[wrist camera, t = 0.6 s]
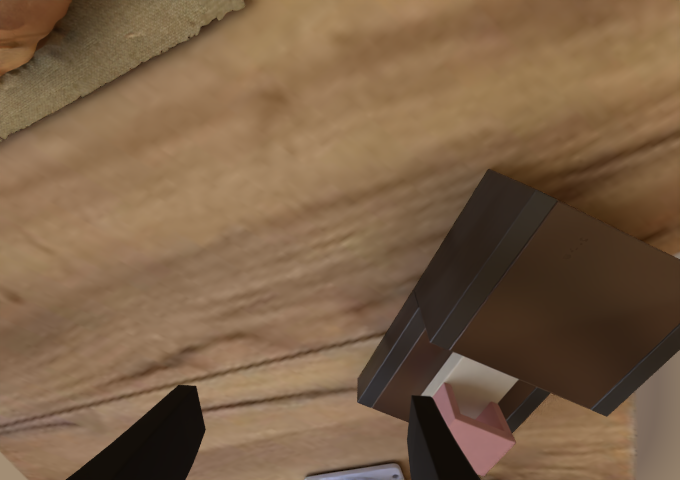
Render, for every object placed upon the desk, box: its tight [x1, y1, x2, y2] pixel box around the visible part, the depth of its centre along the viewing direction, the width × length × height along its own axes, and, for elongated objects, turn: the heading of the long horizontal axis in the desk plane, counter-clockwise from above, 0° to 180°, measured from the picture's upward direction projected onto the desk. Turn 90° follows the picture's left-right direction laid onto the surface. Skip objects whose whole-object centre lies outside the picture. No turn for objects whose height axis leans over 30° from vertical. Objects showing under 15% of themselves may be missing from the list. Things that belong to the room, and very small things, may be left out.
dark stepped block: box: [357, 169, 680, 433], centre depth 18 cm, size 16×10×5 cm, turn 156°
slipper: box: [421, 352, 519, 476], centre depth 18 cm, size 6×4×3 cm, turn 156°
